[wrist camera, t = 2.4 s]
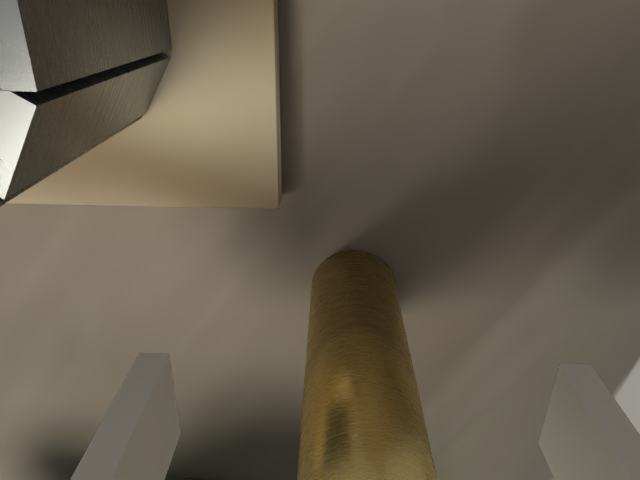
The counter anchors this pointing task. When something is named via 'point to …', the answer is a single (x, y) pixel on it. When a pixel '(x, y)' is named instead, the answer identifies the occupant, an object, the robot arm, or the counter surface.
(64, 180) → the mounting board
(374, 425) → the hinge pin
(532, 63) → the counter surface
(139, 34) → the grey piece
